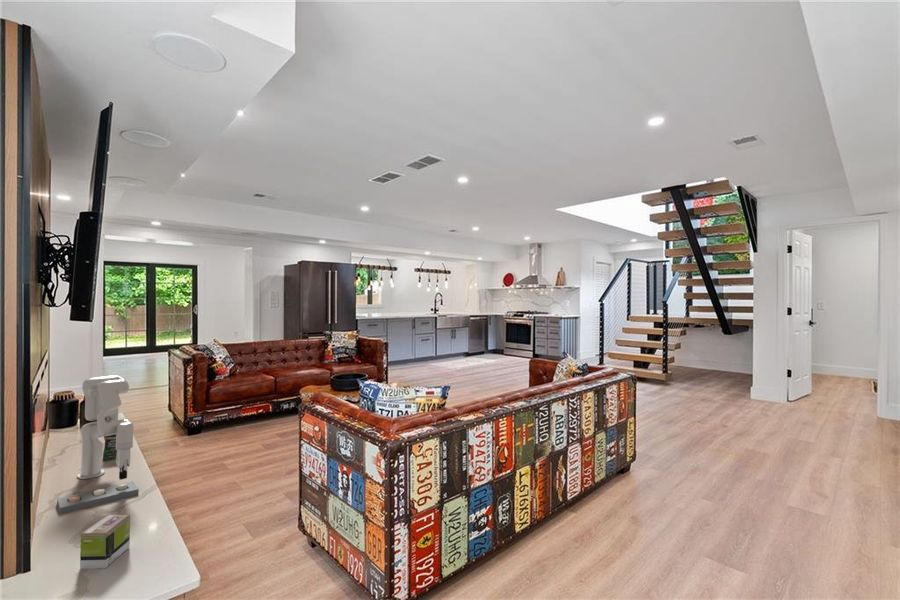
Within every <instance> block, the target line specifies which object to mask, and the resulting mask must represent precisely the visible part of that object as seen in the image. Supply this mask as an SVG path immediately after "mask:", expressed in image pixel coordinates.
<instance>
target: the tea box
mask: <svg viewBox="0 0 900 600" xmlns="http://www.w3.org/2000/svg"><path fill="white" fill-rule="evenodd" d="M130 533H131V514H107V515H105V516H104V517H102V518H100V519H99V520H98V521H96V522H95V523H94V524H92V525H91V526H89V527H88V528H87V529H85V530H84V531H83V532H81V533H80V553H79V556H80V558H79V559H80V561H79V565H80V566H79V568H80V569H81V570H88V569H89V570H91V569H97V570H99V569H98V568H101V569H106V568H108V567H109V566H110V565H111V564H112V563H114V561H116V559H118V558H119V557H120V556H121V555H122V554H124V553H125V552H126V551H127V550H129V548H130V544H131V542H130V541H131V539H130V538H131V537H130V536H131V534H130ZM109 564H110V565H109Z"/></svg>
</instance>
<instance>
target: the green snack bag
mask: <svg viewBox="0 0 900 600" xmlns="http://www.w3.org/2000/svg"><path fill="white" fill-rule="evenodd" d="M103 440H104V448H103V451H102V460H104V461H109V460H116V455H117V450H116V434H115V435H110V436H103Z"/></svg>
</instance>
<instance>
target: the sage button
mask: <svg viewBox="0 0 900 600" xmlns="http://www.w3.org/2000/svg"><path fill="white" fill-rule="evenodd" d="M119 484H120V485H118V484H117V485H118V486H117V491H120V490H124V489H127V484H122V483H119Z"/></svg>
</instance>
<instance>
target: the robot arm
mask: <svg viewBox="0 0 900 600" xmlns="http://www.w3.org/2000/svg"><path fill="white" fill-rule="evenodd" d="M81 387H82V388H81V389H82V392H83V394H84V398H85V399H84V401H85V402H84V418H85V420H86V421H89V422H88V423H85V424H83V425H82V426H81V427H80V437H81V459H80V461H81V463H80V464H81V465H80V473H78V474H77V475H76V477H77V479H80V480H88V479H93V478H97V477H100V476H102V475H104V474H105V469H102V462H103V443H102V441H101V440H99V438H101V437H102V438H104V436H110V435H115V434H116V450H117V455H116V459H115V465H116V466H117V468H118V469H119V473H118V474H119V475H118V479H119V480H125V479H127V478H128V467H130V466H131V449H132V448H133V445H134V426H135V424H134V422H131V420H130V419H128V418H123V419H119V407H120V406H121V405H122V400H121V398H120V395H122V394H126V393H128V391H129V389H130V385H129V383H128V381H127V380H126V379H125V378H123V377H121V376H119V375H107V376H97V377H90V378H86V379H85V380H84V381H83V382H82V385H81ZM90 421H91V422H90Z"/></svg>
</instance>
